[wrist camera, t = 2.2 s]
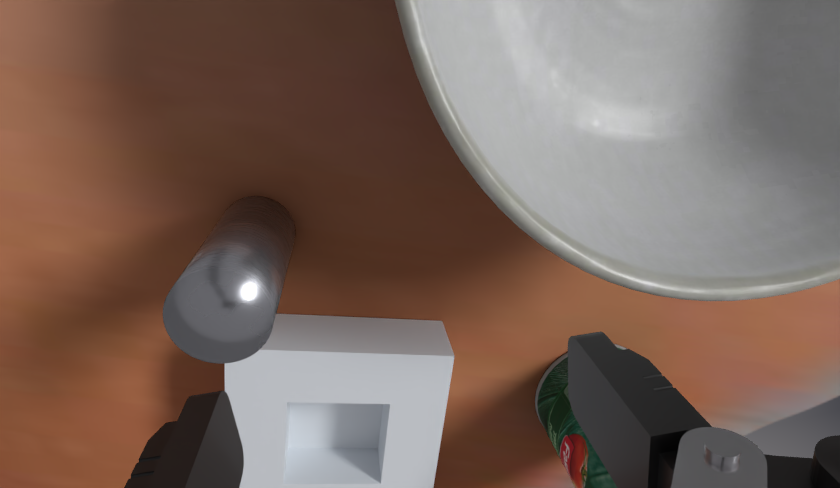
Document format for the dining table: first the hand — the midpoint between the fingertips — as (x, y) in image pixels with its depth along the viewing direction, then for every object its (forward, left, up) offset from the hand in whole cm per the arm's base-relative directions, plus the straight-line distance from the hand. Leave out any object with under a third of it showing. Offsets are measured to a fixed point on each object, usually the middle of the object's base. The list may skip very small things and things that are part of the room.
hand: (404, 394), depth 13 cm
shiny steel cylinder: (-6, -3, -18) cm, 19 cm away
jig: (-1, -14, -18) cm, 23 cm away
